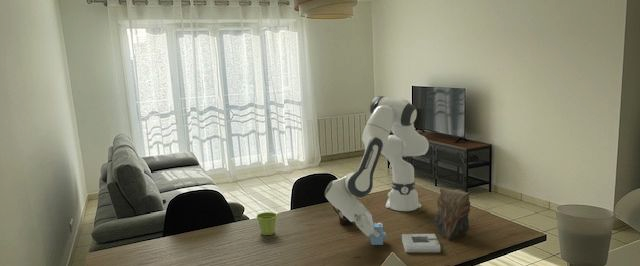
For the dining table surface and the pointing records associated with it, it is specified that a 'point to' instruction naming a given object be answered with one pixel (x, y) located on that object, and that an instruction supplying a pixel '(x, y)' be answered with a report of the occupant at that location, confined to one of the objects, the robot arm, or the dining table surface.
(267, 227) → the plant pot
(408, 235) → the chassis
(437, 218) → the brown tall rough block
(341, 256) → the dining table surface
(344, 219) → the coffee mug
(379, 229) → the servo
